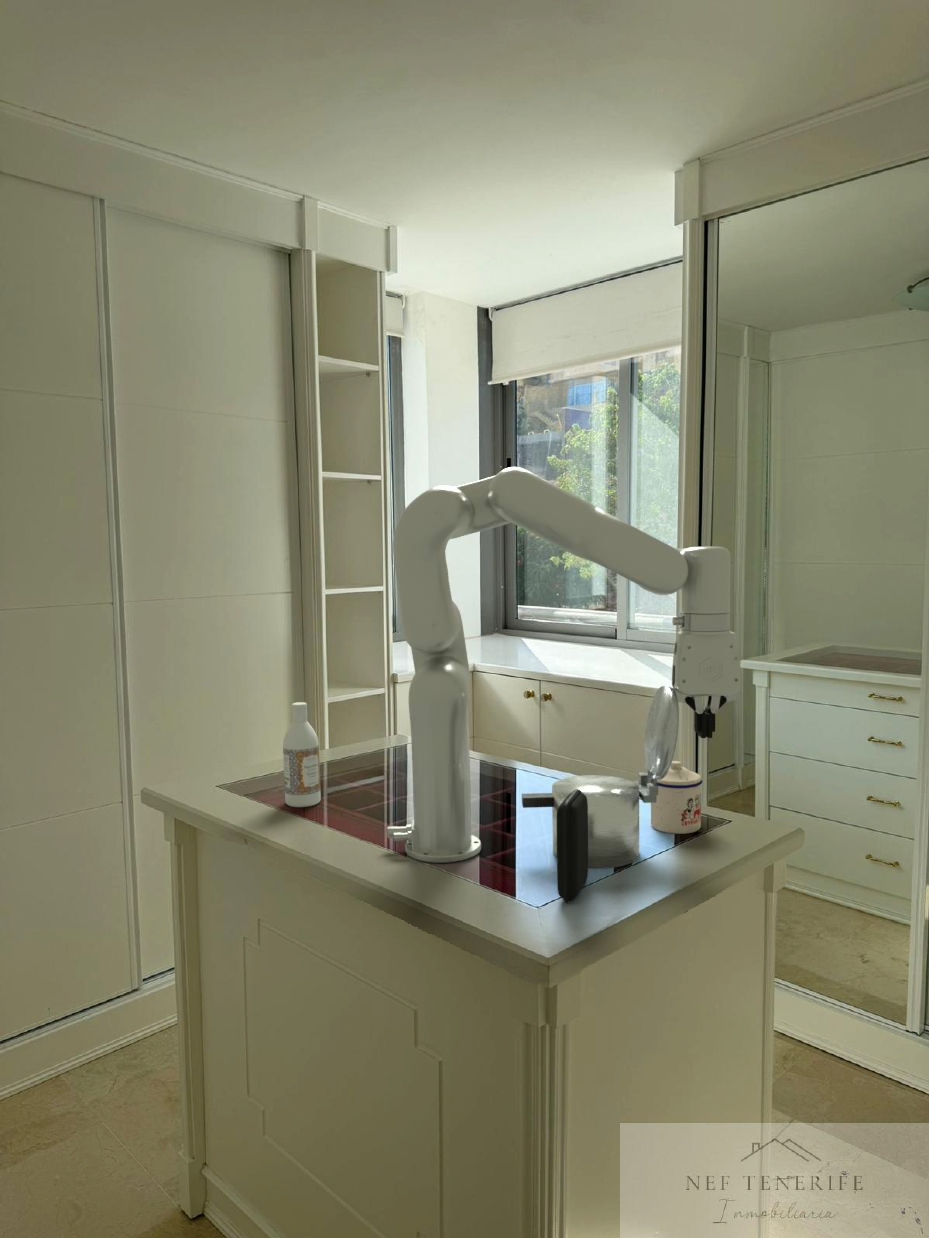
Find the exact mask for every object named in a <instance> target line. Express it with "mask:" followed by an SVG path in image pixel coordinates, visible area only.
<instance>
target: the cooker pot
mask: <svg viewBox="0 0 929 1238" xmlns="http://www.w3.org/2000/svg"><path fill="white" fill-rule="evenodd" d="M637 773H638V776H637V777H638V780H633V781H632V780H629V779H626V778H623V777H617V776H612V775H597V774H590V775H589V774H587V775H586V774H585V775H575V776H574V775H573V776H568V777H564V778H561V779H559V780H556V781H555V782H554V783H553V784H552V786H551V792H542V793H541V792H538V793H534V792H533V793H521V804H522V806H521V807H522V808H523V809H524V808H525V809H526V808H530V809H531V808H532V809H533V808H551V810H552V853H553V856H554V857H555V858H556V859H557V810H558V807H559V806H560V804H561V803H562V802H563V801H564V800H565V798H566V797H567V796H568V795H569V794H570V793H572V792H573V791H574V790H576V789H578V790H580V791H582V793H583V794H585V796H586V797H587V802H588V869H613V868H619V867H624V866H628V865H630V864H633V863H634V862H636V861H637V860H638V859H639V858H640V800H641V802H642V803H644V804H651V803H657V795H658V785H657V784H656V783H647V782H646V779H647V772H637Z"/></svg>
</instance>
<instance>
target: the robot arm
mask: <svg viewBox="0 0 929 1238" xmlns="http://www.w3.org/2000/svg"><path fill="white" fill-rule="evenodd" d="M511 523H512V524H513V525H515V526H518V527H519V528H521V529H523V530H525V531H527V532H529V533H530V534H532V535H535V536H536V537H539V538H540V539H542V540H544V541H546V542H548V543H550V544H552V545H553V546H554V547H555V546H556V547H557V548H559V549H561V550H563V551H565V552H567V553H569V554H571V555H573V556H575V557H577V558H579V559H584V560H586V561H590V562H592V563H594V564H596V565H599V566H601V567H603V568H605V569H607V570H609V571H611V572H613V573H615V574H617V575H619V576H621V577H623V578H625V579H626V580H629V581H630V582H631V583H634V584H636V585H638V586H639V587H640V588H641V589H643V590H644V591H647V592H649V593H652V594H655V595H657V596H668V595H672V594H674V593H676V592H678V591H679V590H681V612H680V614H679V616H678V615H677V616H673V617H672V626H677V627H679V628H680V629H681V631H678V632H677V633H676V636H675V638H676V639H675V643H674V648H673V657H672V666H671V667H672V668H671V685H672V687H671V688H673V689H674V690H675V692H676V695H677V700H678V703H683V704H687V705H688V706H689V708H690V709H692V711H693V712H694V713H693V714H694V715H693V717H694V718H693V721H694V722H693V725H694V726H693V729H694V732H695V733H696V734H697V736H699V737H700V738H701V739H706V738H708V739H713V733H715V732H716V714H717V713H719V710H720V708H721V707H723V706H724V705H725V704H726V703H729V702H733V701H737V700H739V699H740V694H739V692H740V690H741V683H742V682H741V664H740V657H739V656H740V655H739V654H740V653H739V645H738V639H737V634H736V632H735V631H731V571H732V570H731V569H732V568H731V566H732V565H731V560H732V559H731V558H732V557H731V553H730V550H729V549H728V548H726V547H724V546H712V545H711V546H689V547H687V548H679V547H678V548H677V547H673V546H671V545H670V544H668V543H665V542H664V541H662V540H659V538H656V537H654V536H652V535H651V534H649V533H646V532H644V531H643V530H641V529H638V528H637V527H635V526H633V525H631V524H629V523H627V522H625V521H623V520H621V519H619V518H617V517H616V516H614V515H612V514H610V513H608V512H607V511H605V510H604V509H602V508H601V507H599V506H596V505H594V504H592V503H591V502H589V501H586V500H585V499H583V498H581V497H579V496H577V495H575V494H574V493H571V492H570V491H568V490H566V489H563V488H562V487H560V486H558V485H557V484H555V483H552V482H550V481H549V480H547V479H544V478H543V477H541V476H539V475H538V474H535V473H534V472H532V471H529V470H527V469H524V468H522V467H520V466H519V467H517V466H510V467H507V468H504V469H502V470H501V471H499V472H498V473H496V475H493V476H490V477H486V478H483V479H480V480H477V481H472V482H469V483H466V484H462V485H457V486H450V485H437V486H433V487H431V488H429V489H426V490H425V491H424V492H422V493H421V494H420V495H418V496H416V498H414V499H413V500H412V501H411V502H410V503H409V504H408V505H407V507H406V508H404V510H403V511H402V513H401V515H400V517H399V519H398V521H397V523H396V527H395V529H394V534H393V539H392V552H393V553H392V554H393V563H394V571H395V579H396V588H397V596H398V603H399V609H400V610H399V611H400V618H401V629H402V630H401V631H402V635H403V637H404V639H405V641H406V643H407V644H408V645H409V647H410V649H411V656H412V661H413V669H414V675H413V677H412V679H411V682H410V685H409V688H408V689H409V690H408V714H409V724H410V725H409V726H410V735H411V736H410V739H411V740H410V741H411V744H410V745H411V764H412V765H411V766H412V796H413V797H412V799H413V800H412V801H413V802H412V803H413V819H412V822H411V823H407V824H406V826H398V825H394V826H393V825H392V826H391V825H387V834H386V835H387V839H393V842H402V841H403V842H405V841H406V842H405V844H404V848H405V851H404V852H405V853H406V854H407V856H408V857H411V858H412V859H415V860H418V861H420V862H426V863H437V864H438V863H440V864H441V863H444V864H445V863H455V862H460V861H463V860H468V859H470V858H473V857H474V856H477V855H478V854H479V853H480V852H481V849H482V842H481V840H480V839H479V838H478V837H476V835H473V834H472V802H471V801H472V800H471V799H472V797H471V794H472V793H471V757H470V728H469V727H470V725H469V696H470V695H469V694H470V689H471V680H472V679H471V672H470V666H469V658H468V652H467V645H466V638H465V633H464V632H465V631H464V626H463V620H462V615H461V611H460V609H459V607H458V605H457V604H456V603H455V601H454V600H453V599H452V598H453V597H452V594H451V593H452V592H451V586H450V581H449V578H450V577H449V570H448V563H447V556H446V555H447V554H446V550H447V545H448V542H449V541H450V540H453V539H458V538H461V537H465V536H467V535H471V534H476V533H480V532H483V531H487V530H490V529H494V528H498V527H501V526H505V525H508V524H511ZM704 696H705V697H706V696H707V698H706V704H705V705H706V706H705V707H704V703H703V697H704Z"/></svg>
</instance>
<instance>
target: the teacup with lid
mask: <svg viewBox="0 0 929 1238" xmlns="http://www.w3.org/2000/svg"><path fill="white" fill-rule="evenodd" d="M702 783H703V779H702V777H701V774H699V773H697V772H694V771H693V770H689V769H687V768H686V767H684V766H682V762H681V761H679V760H672V763H671V765H670V768H669V770H668V772H667V774H666V775H665V777H664V778H663V779H661V780H657V785H658V795H657V803H650V825H651V826H652V828H653V829H655V830H656V831H659V832H663V833H667V834H675V835H682V834H683V835H687V834H690V833H691V834H692V833H696V832H697V831H698V830H700V829H701V827H702Z"/></svg>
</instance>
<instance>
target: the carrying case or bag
mask: <svg viewBox="0 0 929 1238" xmlns="http://www.w3.org/2000/svg"><path fill="white" fill-rule="evenodd" d="M556 877H557V879H556V881H557V882H556V883H557V884H556V885H557V887H556V888H557V893H558V896H559V897H560V898H561V899H562V900H563V902H566V903H568V904H569V903H572V902H573V901H574V900H575V899H577V898H578V897H579V894H580V893H581V891H582V889H583V888H584V886H585V884H586V882H587V881H588V877H589V868H588V802H587V797H586V796H585V794H583V793H582V791H580V790H578V789H576V790H574V791H573V792H572V793H570V794H569V795H568V796H567V797H566V798H565V800H564V801H563V802H562V803H561V804H560V806H559V807H558V810H557V858H556Z"/></svg>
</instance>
